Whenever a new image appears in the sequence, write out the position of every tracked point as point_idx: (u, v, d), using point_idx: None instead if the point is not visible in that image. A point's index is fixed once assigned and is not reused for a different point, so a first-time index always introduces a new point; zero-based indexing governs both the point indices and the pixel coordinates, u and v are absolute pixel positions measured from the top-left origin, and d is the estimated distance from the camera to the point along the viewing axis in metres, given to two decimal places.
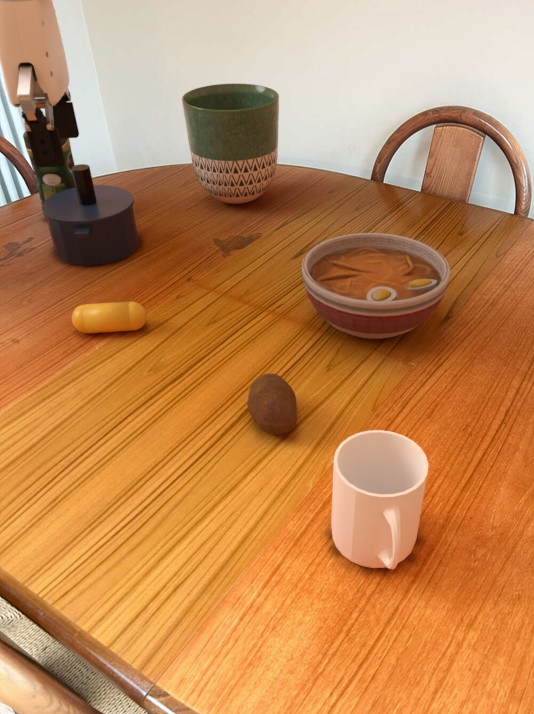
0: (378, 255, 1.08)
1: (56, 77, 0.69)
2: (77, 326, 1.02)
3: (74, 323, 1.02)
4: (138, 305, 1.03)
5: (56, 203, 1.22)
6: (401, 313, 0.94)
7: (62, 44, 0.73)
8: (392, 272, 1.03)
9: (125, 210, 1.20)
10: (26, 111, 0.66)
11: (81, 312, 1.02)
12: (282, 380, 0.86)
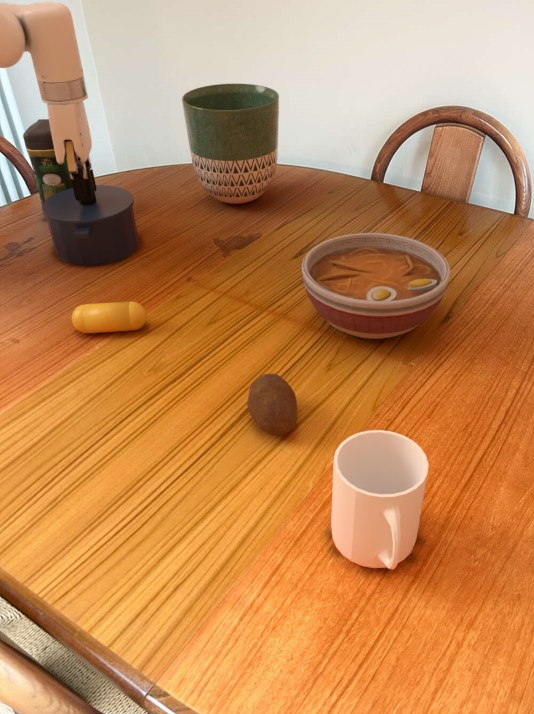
0: (378, 255, 1.08)
1: (85, 146, 1.13)
2: (77, 326, 1.02)
3: (74, 323, 1.02)
4: (138, 305, 1.03)
5: (56, 203, 1.22)
6: (401, 313, 0.94)
7: None
8: (392, 272, 1.03)
9: (125, 210, 1.20)
10: (73, 173, 1.13)
11: (81, 312, 1.02)
12: (282, 380, 0.86)
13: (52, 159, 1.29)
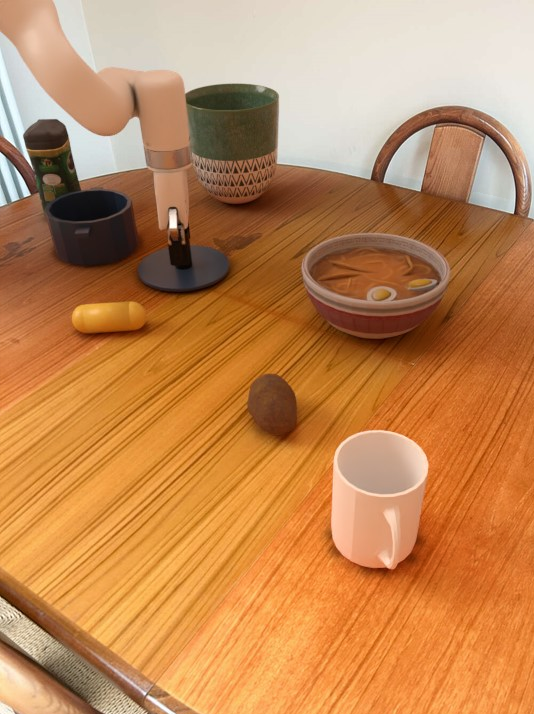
0: (378, 255, 1.08)
1: (187, 212, 1.10)
2: (77, 326, 1.02)
3: (74, 323, 1.02)
4: (138, 305, 1.03)
5: (151, 267, 1.19)
6: (401, 313, 0.94)
7: None
8: (392, 272, 1.03)
9: (224, 275, 1.17)
10: (173, 236, 1.07)
11: (81, 312, 1.02)
12: (282, 380, 0.86)
13: (52, 159, 1.29)
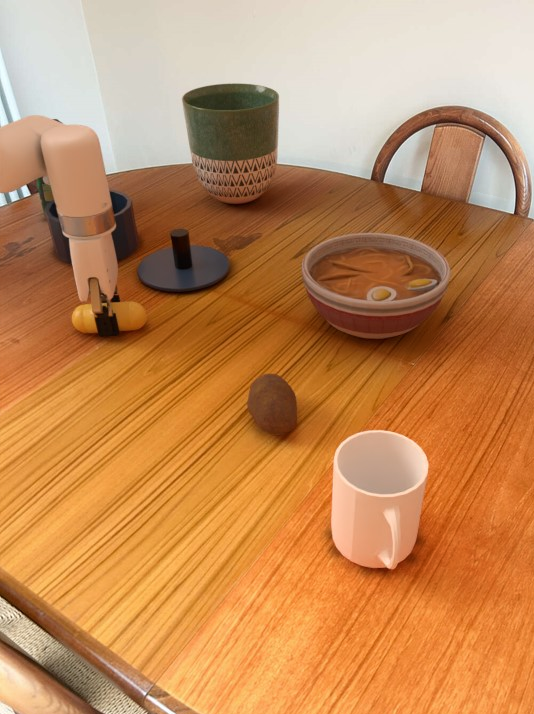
0: (378, 255, 1.08)
1: (112, 280, 0.97)
2: (77, 326, 1.02)
3: (74, 323, 1.02)
4: (138, 305, 1.03)
5: (151, 267, 1.19)
6: (401, 313, 0.94)
7: (114, 249, 1.01)
8: (392, 272, 1.03)
9: (224, 275, 1.17)
10: (97, 313, 0.96)
11: (81, 312, 1.02)
12: (282, 380, 0.86)
13: None
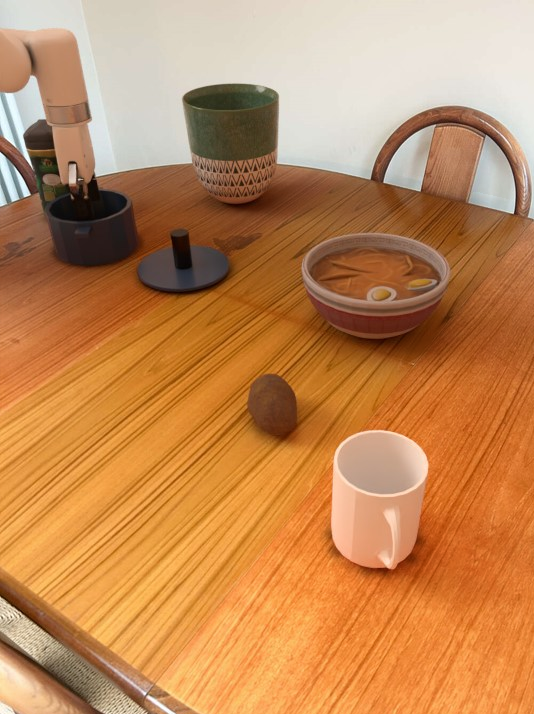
0: (378, 255, 1.08)
1: (89, 167, 1.15)
2: None
3: None
4: None
5: (151, 267, 1.19)
6: (401, 313, 0.94)
7: (91, 144, 1.19)
8: (392, 272, 1.03)
9: (224, 275, 1.17)
10: (73, 191, 1.13)
11: None
12: (282, 380, 0.86)
13: (52, 159, 1.29)
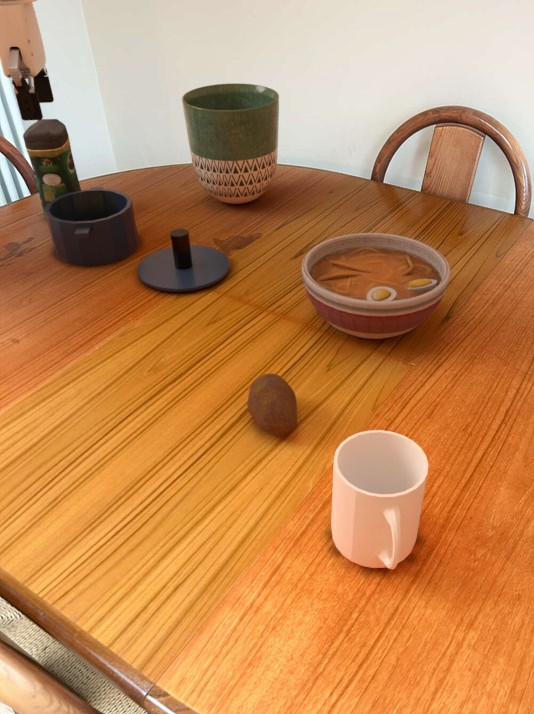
0: (378, 255, 1.08)
1: (35, 57, 1.01)
2: None
3: None
4: None
5: (151, 267, 1.19)
6: (401, 313, 0.94)
7: (40, 35, 1.05)
8: (392, 272, 1.03)
9: (224, 275, 1.17)
10: (15, 79, 0.98)
11: None
12: (282, 380, 0.86)
13: (52, 159, 1.29)
